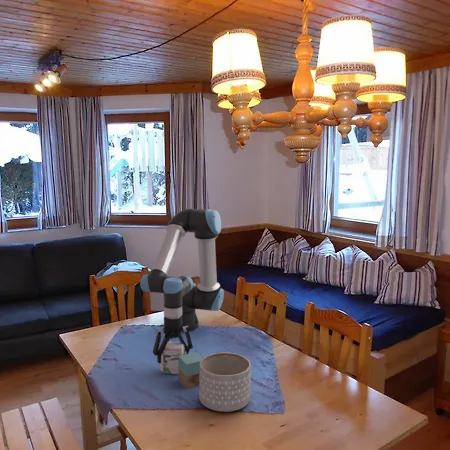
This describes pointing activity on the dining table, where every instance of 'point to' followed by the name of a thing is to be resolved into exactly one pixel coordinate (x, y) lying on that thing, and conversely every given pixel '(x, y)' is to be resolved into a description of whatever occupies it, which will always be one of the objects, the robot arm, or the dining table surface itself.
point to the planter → (224, 381)
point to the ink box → (172, 357)
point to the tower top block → (189, 363)
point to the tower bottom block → (189, 380)
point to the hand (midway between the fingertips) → (173, 367)
